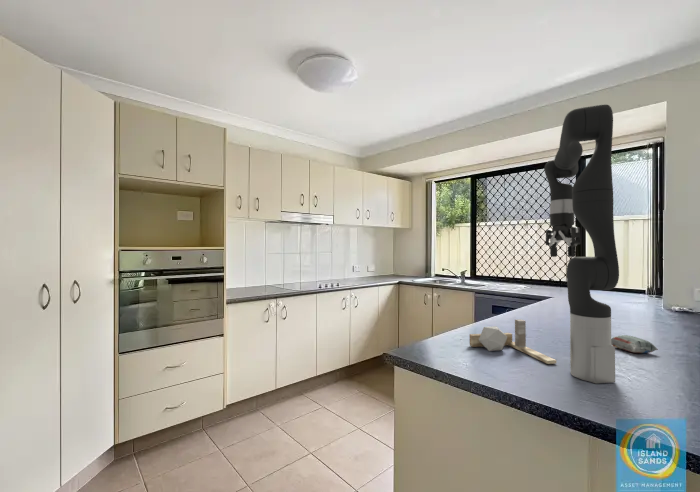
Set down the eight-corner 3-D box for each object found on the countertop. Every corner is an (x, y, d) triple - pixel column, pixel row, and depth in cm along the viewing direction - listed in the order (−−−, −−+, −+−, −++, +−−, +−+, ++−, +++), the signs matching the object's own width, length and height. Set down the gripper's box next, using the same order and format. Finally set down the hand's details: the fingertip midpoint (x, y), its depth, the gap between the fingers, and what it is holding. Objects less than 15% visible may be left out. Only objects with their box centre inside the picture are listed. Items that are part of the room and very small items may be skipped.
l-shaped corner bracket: (556, 363, 101) (556, 330, 101) (504, 366, 98) (504, 332, 98) (512, 343, 122) (512, 316, 122) (469, 345, 120) (469, 317, 120)
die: (507, 356, 110) (514, 330, 114) (485, 344, 110) (492, 318, 114) (492, 357, 117) (499, 333, 121) (471, 346, 117) (479, 322, 121)
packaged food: (634, 356, 108) (634, 341, 108) (603, 346, 120) (603, 332, 120) (658, 356, 109) (659, 341, 109) (625, 345, 120) (625, 332, 120)
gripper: (539, 215, 128) (539, 256, 127) (567, 210, 114) (568, 256, 113) (556, 215, 129) (557, 256, 128) (587, 210, 115) (587, 257, 114)
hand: (562, 256), depth 121 cm, fingers open, 8 cm apart
